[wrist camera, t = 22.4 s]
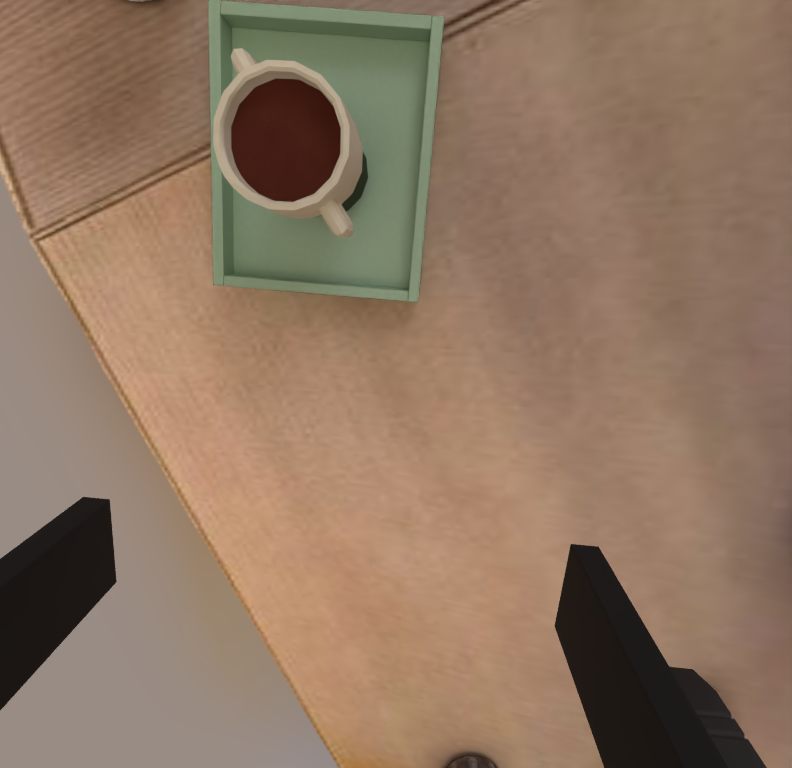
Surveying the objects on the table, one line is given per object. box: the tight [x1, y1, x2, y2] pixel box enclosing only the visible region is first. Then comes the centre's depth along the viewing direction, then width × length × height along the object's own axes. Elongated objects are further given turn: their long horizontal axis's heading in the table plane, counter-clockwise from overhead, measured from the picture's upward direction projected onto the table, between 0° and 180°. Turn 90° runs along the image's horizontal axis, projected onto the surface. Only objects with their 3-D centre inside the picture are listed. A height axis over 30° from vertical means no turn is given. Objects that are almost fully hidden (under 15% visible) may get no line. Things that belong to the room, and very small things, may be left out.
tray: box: [208, 0, 444, 302], centre depth 37 cm, size 16×19×3 cm
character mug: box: [213, 48, 368, 238], centre depth 31 cm, size 11×7×13 cm, turn 31°
